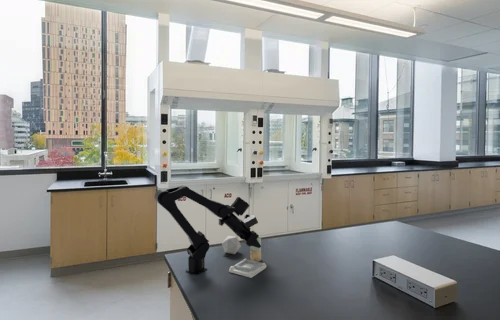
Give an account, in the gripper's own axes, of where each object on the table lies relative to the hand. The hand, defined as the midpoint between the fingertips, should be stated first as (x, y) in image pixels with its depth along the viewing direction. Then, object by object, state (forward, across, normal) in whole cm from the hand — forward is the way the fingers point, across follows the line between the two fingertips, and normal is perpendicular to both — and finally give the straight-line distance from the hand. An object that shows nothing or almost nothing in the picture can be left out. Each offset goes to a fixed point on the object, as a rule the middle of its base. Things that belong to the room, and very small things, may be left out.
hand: (258, 245), depth 146 cm
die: (-2, +13, +11) cm, 17 cm away
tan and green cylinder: (+4, 0, +6) cm, 7 cm away
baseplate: (-1, -9, +10) cm, 14 cm away
